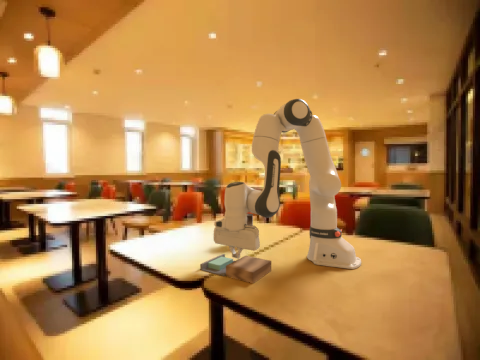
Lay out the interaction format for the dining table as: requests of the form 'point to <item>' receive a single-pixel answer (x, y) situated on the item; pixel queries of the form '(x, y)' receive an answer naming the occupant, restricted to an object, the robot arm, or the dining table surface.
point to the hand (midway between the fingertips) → (236, 257)
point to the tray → (219, 272)
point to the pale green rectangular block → (219, 263)
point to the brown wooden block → (248, 269)
